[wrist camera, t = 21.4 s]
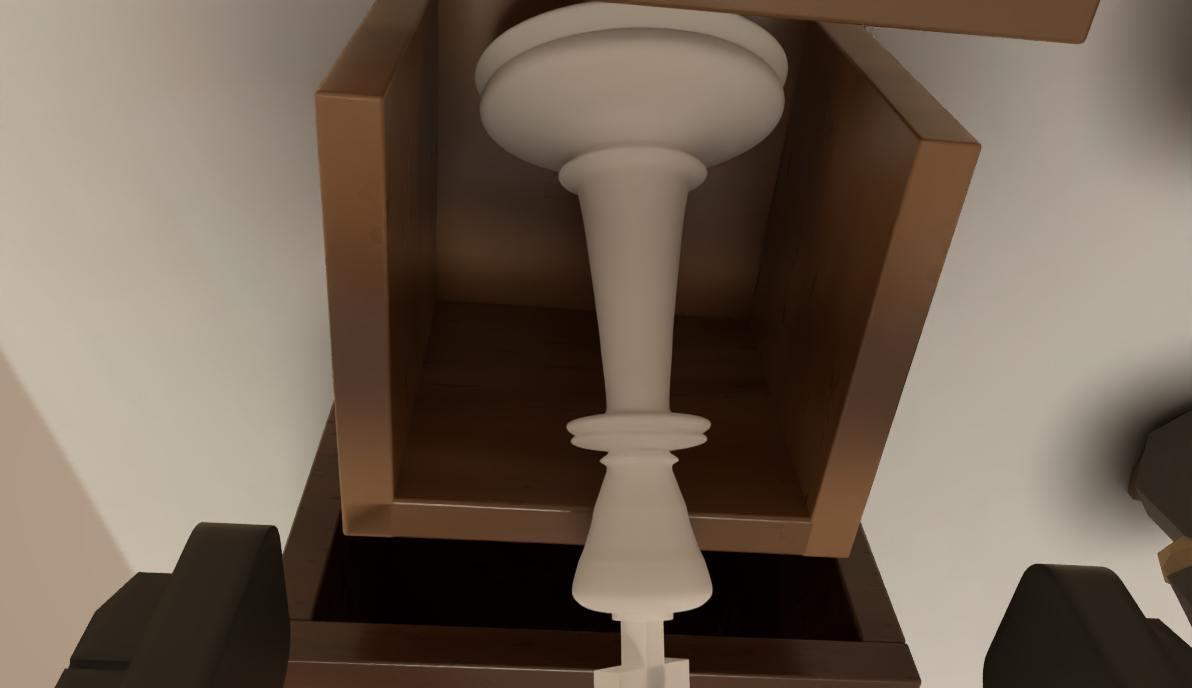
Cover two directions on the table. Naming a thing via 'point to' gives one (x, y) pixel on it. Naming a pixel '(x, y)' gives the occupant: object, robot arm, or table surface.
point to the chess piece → (634, 260)
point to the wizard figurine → (1170, 500)
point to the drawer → (704, 288)
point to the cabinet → (563, 612)
